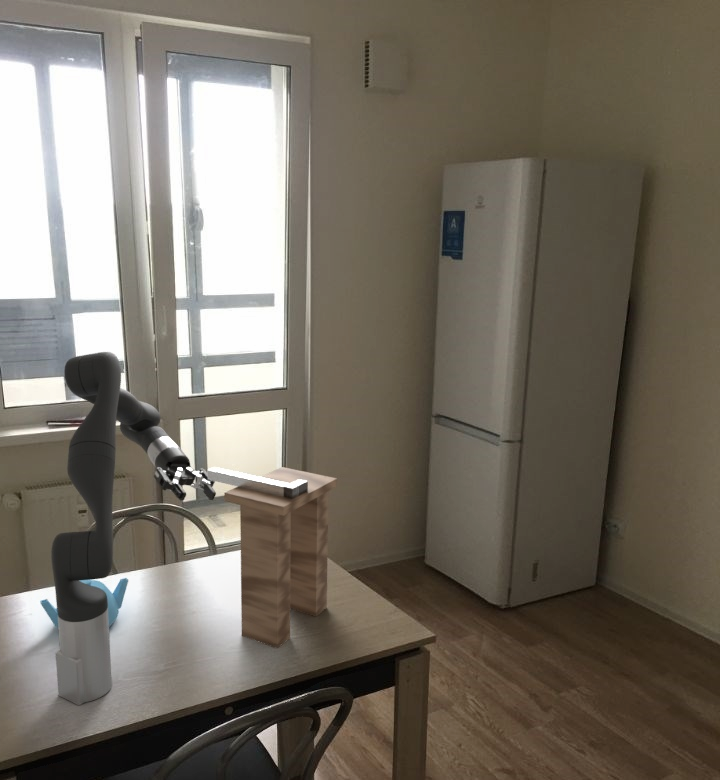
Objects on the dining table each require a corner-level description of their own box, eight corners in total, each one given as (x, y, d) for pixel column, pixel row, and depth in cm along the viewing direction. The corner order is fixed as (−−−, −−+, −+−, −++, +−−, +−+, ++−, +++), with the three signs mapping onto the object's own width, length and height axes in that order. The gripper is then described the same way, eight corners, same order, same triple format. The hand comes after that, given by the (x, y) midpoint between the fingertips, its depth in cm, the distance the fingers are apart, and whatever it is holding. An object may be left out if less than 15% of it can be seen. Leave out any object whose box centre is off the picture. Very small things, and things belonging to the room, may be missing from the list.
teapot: (134, 610, 172) (132, 569, 170) (103, 643, 158) (101, 599, 156) (75, 604, 174) (72, 564, 172) (40, 637, 160) (36, 593, 158)
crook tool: (292, 499, 154) (292, 488, 153) (207, 479, 165) (207, 469, 165) (307, 491, 159) (307, 481, 158) (224, 472, 170) (224, 463, 170)
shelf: (283, 651, 156) (283, 506, 149) (226, 631, 164) (224, 492, 157) (334, 609, 175) (337, 478, 168) (281, 592, 183) (281, 466, 176)
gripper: (148, 444, 171) (179, 484, 161) (197, 446, 181) (229, 484, 172) (137, 469, 173) (167, 511, 163) (186, 470, 183) (216, 509, 174)
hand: (198, 497), depth 167 cm, fingers open, 8 cm apart
